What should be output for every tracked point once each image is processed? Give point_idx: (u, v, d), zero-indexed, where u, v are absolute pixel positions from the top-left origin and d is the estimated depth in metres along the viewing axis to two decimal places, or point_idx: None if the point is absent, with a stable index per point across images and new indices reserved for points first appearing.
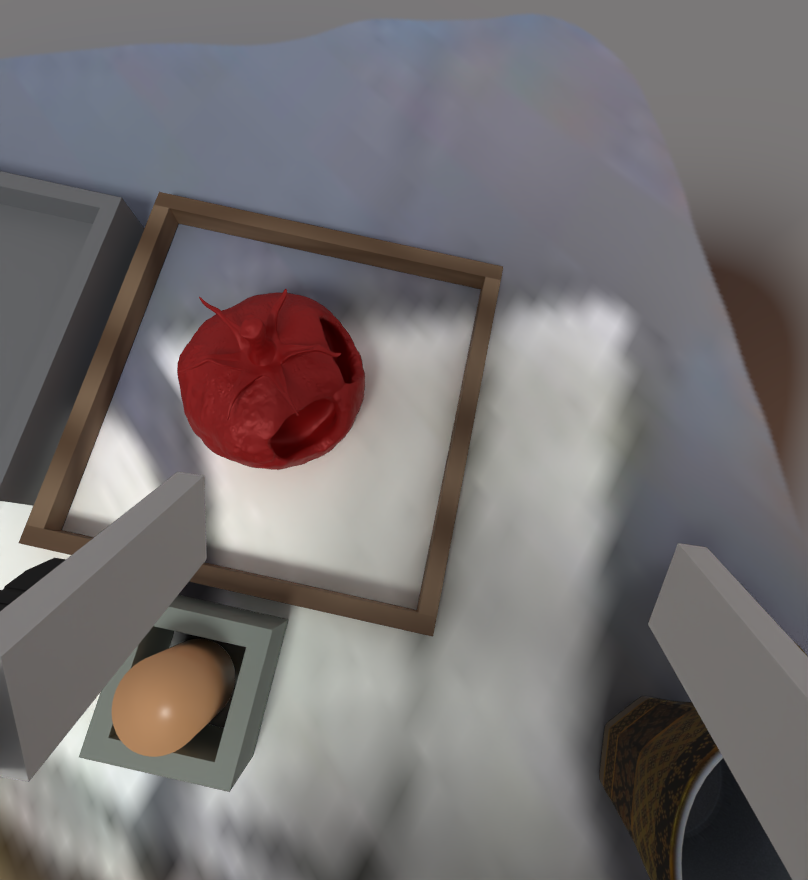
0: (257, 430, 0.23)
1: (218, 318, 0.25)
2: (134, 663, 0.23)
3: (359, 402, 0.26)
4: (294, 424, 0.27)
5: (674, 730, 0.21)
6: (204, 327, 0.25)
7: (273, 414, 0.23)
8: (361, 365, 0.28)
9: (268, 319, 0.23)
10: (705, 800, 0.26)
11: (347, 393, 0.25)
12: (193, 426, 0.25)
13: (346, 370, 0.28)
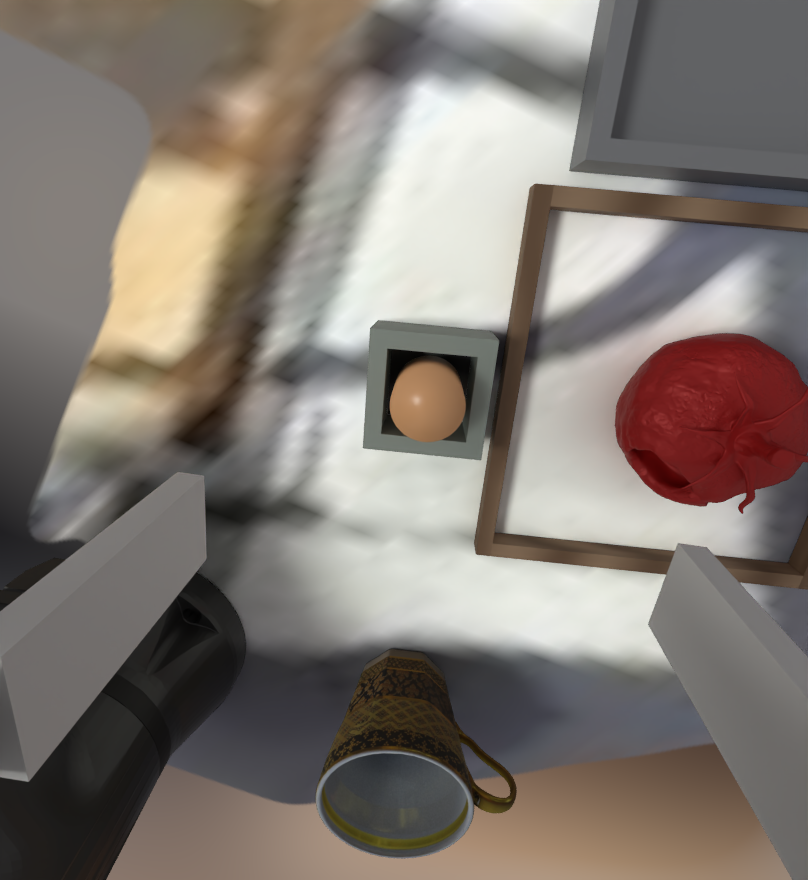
0: (665, 445, 0.25)
1: (791, 382, 0.24)
2: (445, 353, 0.27)
3: None
4: None
5: (447, 726, 0.32)
6: (781, 369, 0.24)
7: (682, 459, 0.25)
8: None
9: None
10: None
11: (695, 503, 0.27)
12: (665, 363, 0.26)
13: None
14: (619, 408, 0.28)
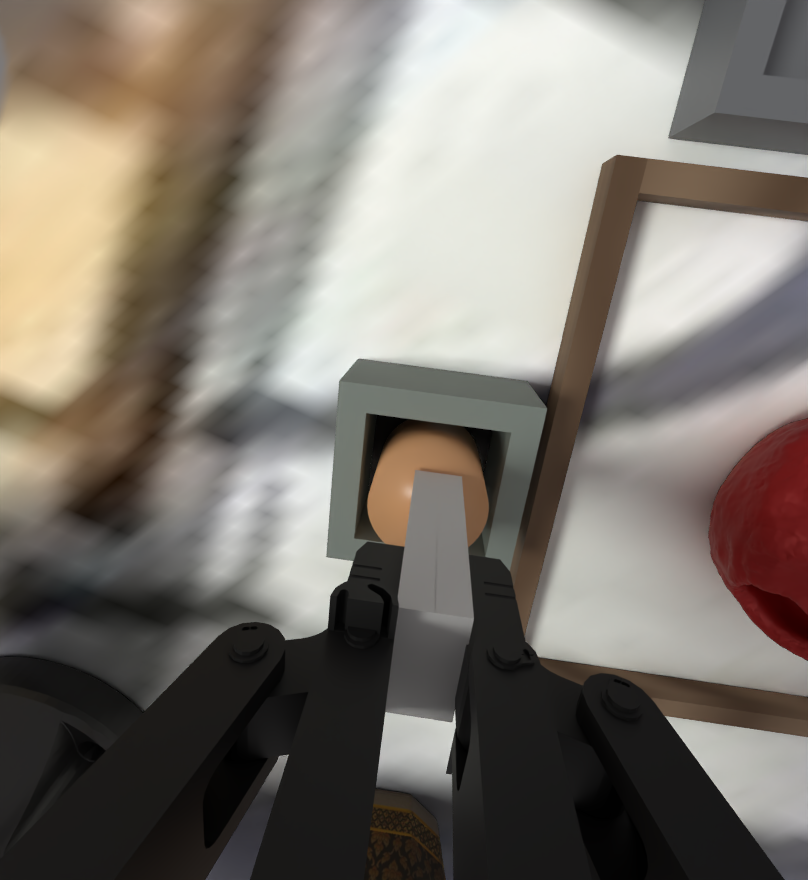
0: None
1: None
2: (458, 423, 0.17)
3: None
4: None
5: None
6: None
7: None
8: None
9: None
10: None
11: None
12: None
13: None
14: (725, 513, 0.18)
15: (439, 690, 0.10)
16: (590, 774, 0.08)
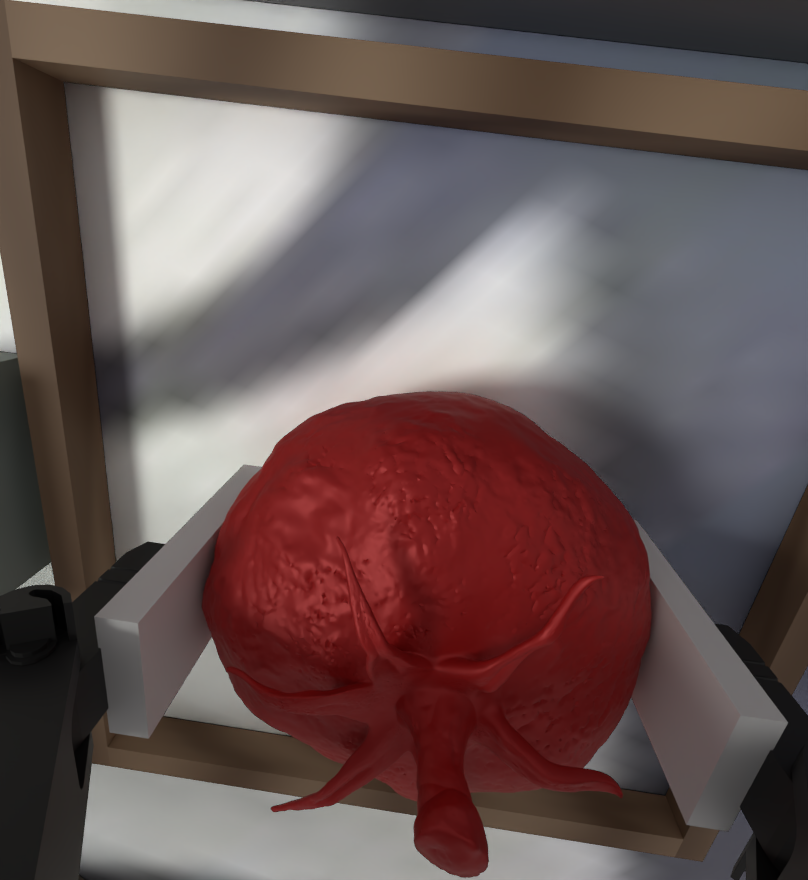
0: (244, 686, 0.10)
1: (554, 551, 0.09)
2: None
3: None
4: None
5: None
6: (525, 514, 0.08)
7: (283, 727, 0.10)
8: None
9: (522, 762, 0.08)
10: None
11: None
12: (274, 465, 0.10)
13: None
14: None
15: (722, 798, 0.08)
16: None
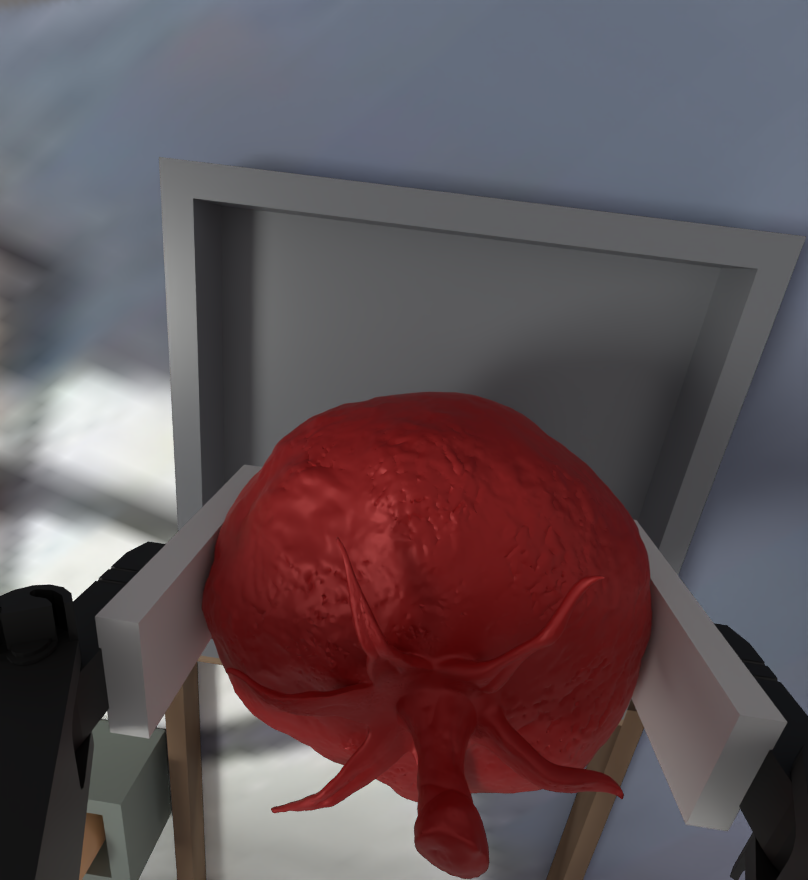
0: (244, 687, 0.10)
1: (554, 551, 0.09)
2: None
3: None
4: None
5: None
6: (525, 514, 0.08)
7: (283, 727, 0.10)
8: None
9: (523, 763, 0.08)
10: None
11: None
12: (274, 465, 0.10)
13: None
14: None
15: (721, 796, 0.08)
16: None
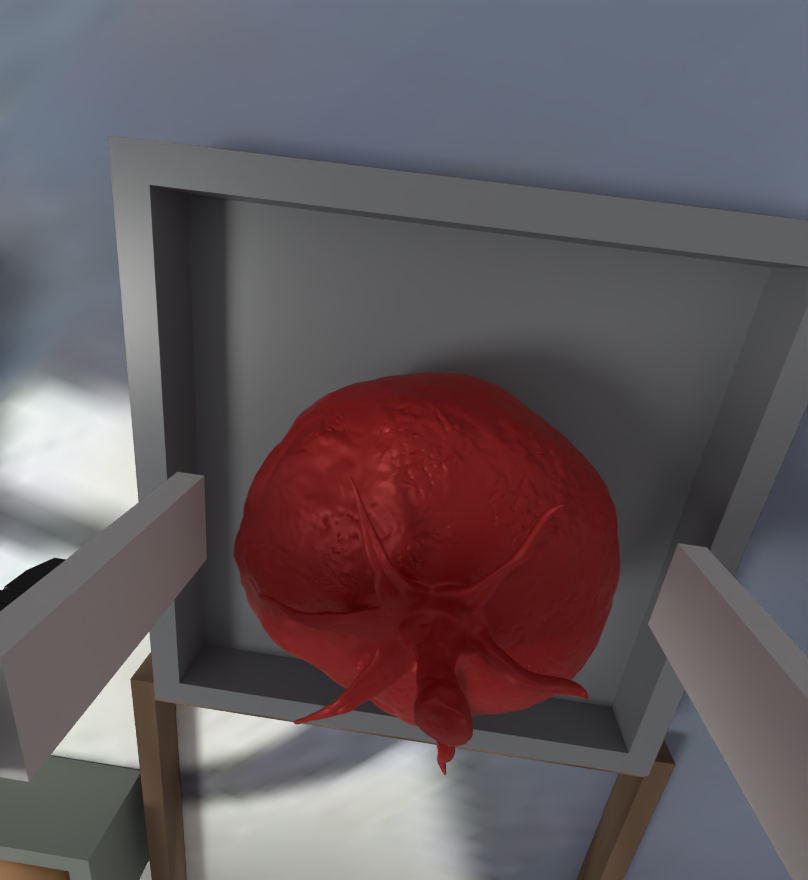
0: (270, 619, 0.11)
1: (529, 496, 0.10)
2: (32, 859, 0.22)
3: None
4: None
5: None
6: (505, 465, 0.10)
7: (303, 653, 0.11)
8: None
9: (504, 669, 0.10)
10: None
11: None
12: (294, 434, 0.12)
13: None
14: None
15: None
16: None
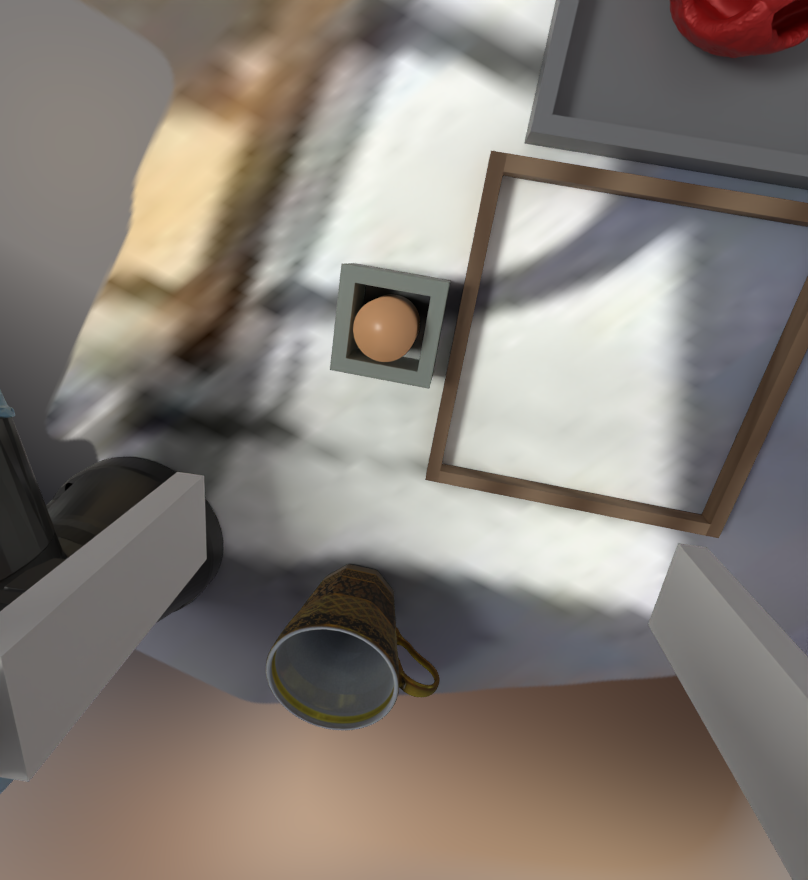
0: None
1: None
2: None
3: (742, 46, 0.24)
4: None
5: (385, 623, 0.38)
6: None
7: None
8: (786, 46, 0.25)
9: None
10: None
11: (760, 20, 0.23)
12: None
13: (780, 31, 0.25)
14: None
15: None
16: None
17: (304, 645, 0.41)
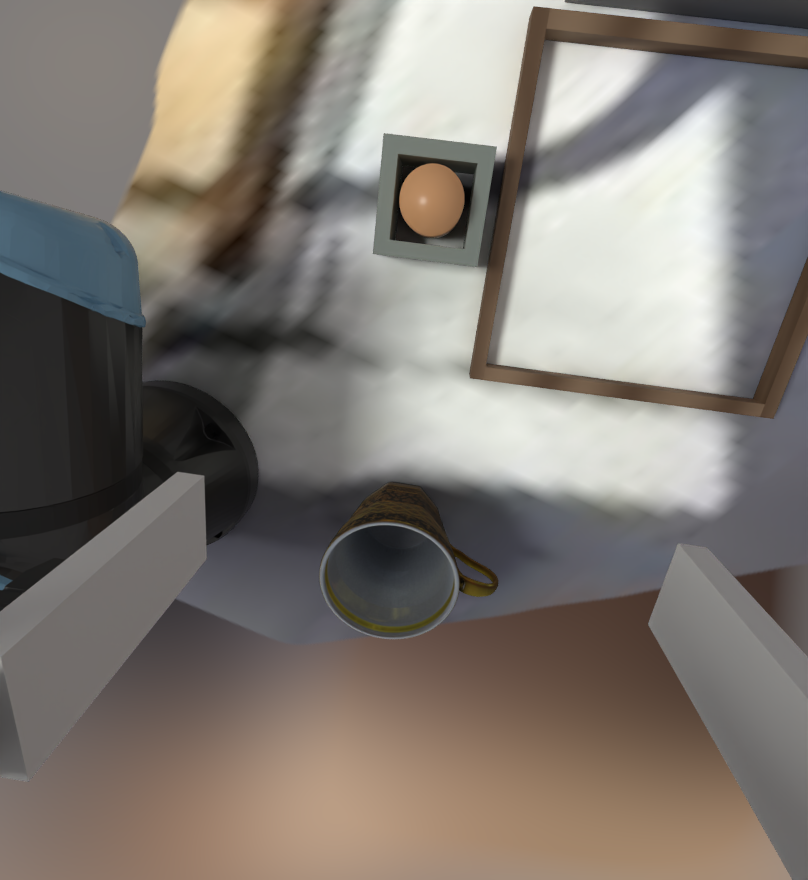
0: None
1: None
2: (448, 160, 0.30)
3: None
4: None
5: (438, 525, 0.36)
6: None
7: None
8: None
9: None
10: (384, 539, 0.44)
11: None
12: None
13: None
14: None
15: None
16: None
17: (351, 562, 0.39)
